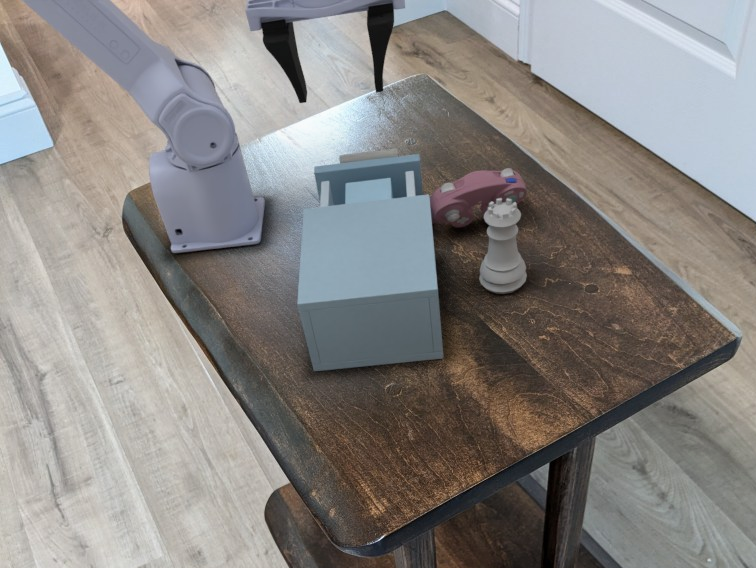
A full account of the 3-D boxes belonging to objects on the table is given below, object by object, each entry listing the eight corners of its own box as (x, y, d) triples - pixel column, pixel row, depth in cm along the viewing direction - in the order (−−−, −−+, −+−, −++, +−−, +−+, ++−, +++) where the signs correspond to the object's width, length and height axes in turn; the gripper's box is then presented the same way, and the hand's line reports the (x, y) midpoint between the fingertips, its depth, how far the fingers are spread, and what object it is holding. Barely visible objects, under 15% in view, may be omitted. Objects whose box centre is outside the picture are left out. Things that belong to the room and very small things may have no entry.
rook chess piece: (469, 283, 82) (465, 209, 75) (501, 260, 83) (501, 185, 77) (504, 302, 79) (503, 227, 73) (536, 278, 81) (539, 203, 75)
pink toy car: (432, 248, 88) (436, 211, 81) (420, 209, 89) (423, 169, 82) (524, 225, 89) (536, 186, 82) (511, 186, 90) (522, 144, 83)
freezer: (318, 276, 85) (303, 208, 79) (435, 263, 84) (429, 193, 78) (313, 371, 77) (297, 304, 71) (443, 358, 76) (437, 288, 70)
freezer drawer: (325, 193, 92) (315, 141, 88) (422, 181, 91) (417, 129, 87) (321, 294, 82) (310, 242, 77) (430, 282, 81) (425, 229, 76)
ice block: (351, 249, 84) (344, 209, 80) (352, 222, 86) (345, 182, 83) (396, 244, 83) (391, 203, 80) (395, 217, 86) (390, 177, 83)
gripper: (395, -92, 76) (412, 62, 87) (237, -66, 78) (272, 82, 89) (397, -61, 72) (414, 97, 83) (229, -34, 74) (267, 118, 85)
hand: (341, 92), depth 86 cm, fingers open, 7 cm apart
